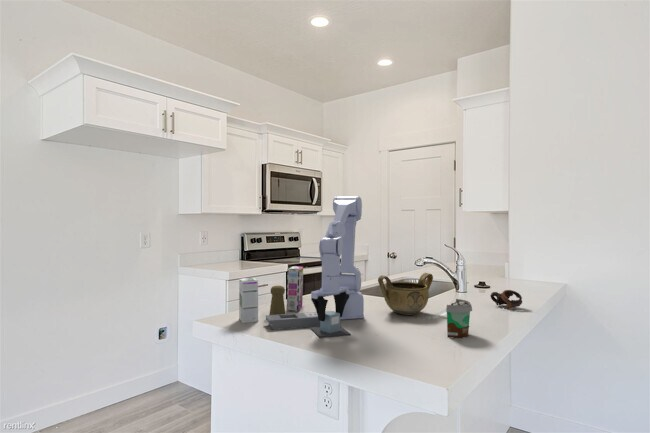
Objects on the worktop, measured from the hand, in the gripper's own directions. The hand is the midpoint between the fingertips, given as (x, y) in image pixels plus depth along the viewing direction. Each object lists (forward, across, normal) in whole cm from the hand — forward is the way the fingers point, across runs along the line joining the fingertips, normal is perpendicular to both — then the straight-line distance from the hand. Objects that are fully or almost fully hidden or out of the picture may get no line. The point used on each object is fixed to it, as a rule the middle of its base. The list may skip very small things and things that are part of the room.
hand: (330, 318), depth 123 cm
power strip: (+4, +1, -12) cm, 13 cm away
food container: (+4, -28, +29) cm, 41 cm away
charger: (+4, 0, 0) cm, 4 cm away
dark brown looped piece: (+5, -80, +21) cm, 83 cm away
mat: (+4, 0, 0) cm, 4 cm away
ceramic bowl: (+5, -39, +1) cm, 40 cm away
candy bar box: (+5, -12, -33) cm, 35 cm away
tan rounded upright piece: (+4, 0, -28) cm, 28 cm away
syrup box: (+4, +12, -29) cm, 31 cm away
